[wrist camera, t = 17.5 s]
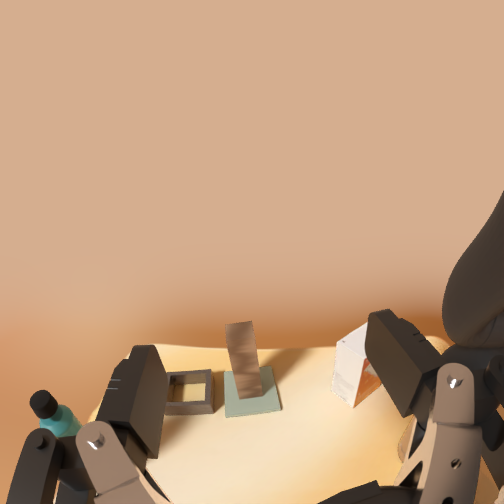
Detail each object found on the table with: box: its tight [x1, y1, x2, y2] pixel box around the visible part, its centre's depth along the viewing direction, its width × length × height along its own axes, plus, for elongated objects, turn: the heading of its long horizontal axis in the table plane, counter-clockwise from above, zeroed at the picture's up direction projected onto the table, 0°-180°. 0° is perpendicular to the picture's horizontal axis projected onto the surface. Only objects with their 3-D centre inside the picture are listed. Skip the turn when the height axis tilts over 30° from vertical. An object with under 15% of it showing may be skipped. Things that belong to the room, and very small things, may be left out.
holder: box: [164, 369, 214, 415], centre depth 48 cm, size 10×10×3 cm
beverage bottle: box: [30, 390, 83, 437], centre depth 27 cm, size 6×7×20 cm
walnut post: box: [225, 321, 263, 400], centre depth 47 cm, size 4×4×15 cm
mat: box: [224, 366, 281, 418], centre depth 49 cm, size 10×12×1 cm
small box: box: [331, 322, 381, 408], centre depth 44 cm, size 8×6×13 cm
